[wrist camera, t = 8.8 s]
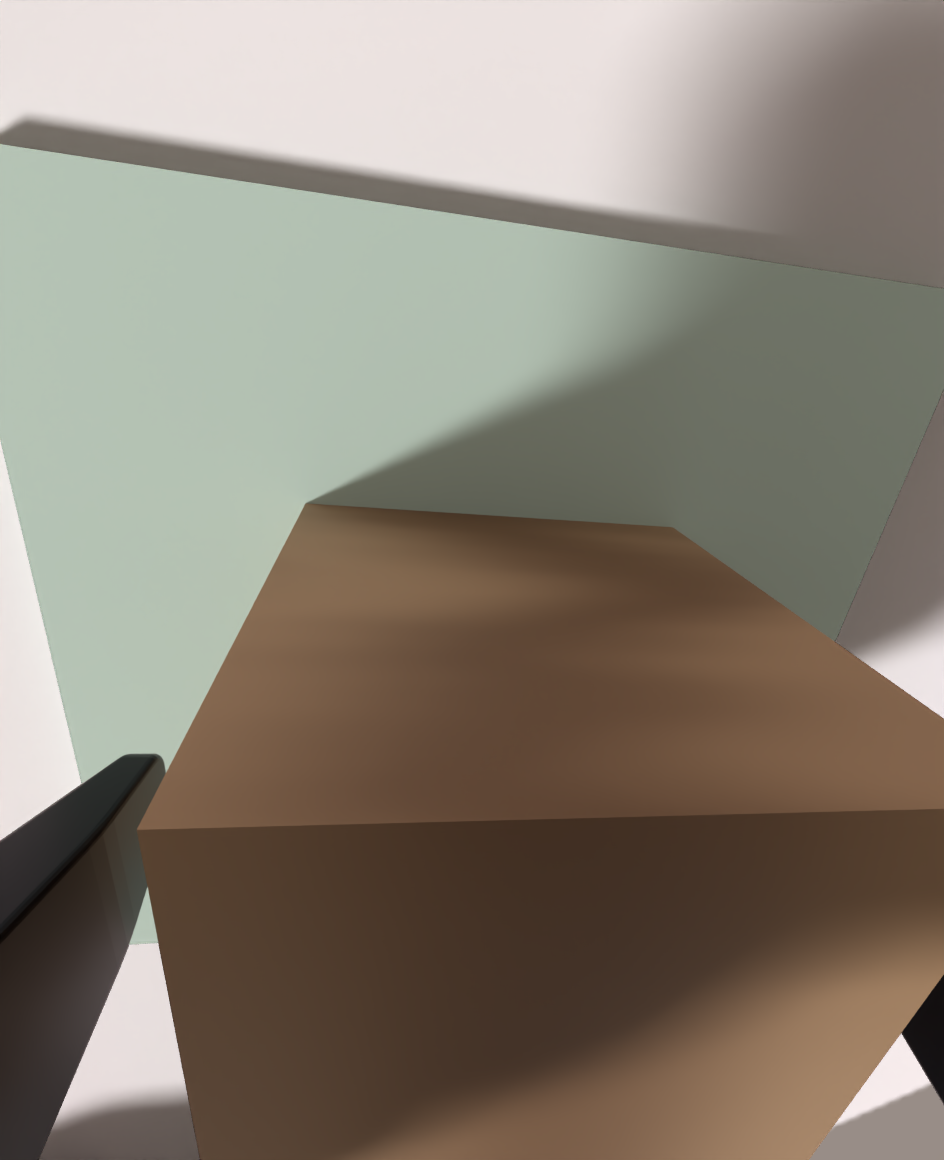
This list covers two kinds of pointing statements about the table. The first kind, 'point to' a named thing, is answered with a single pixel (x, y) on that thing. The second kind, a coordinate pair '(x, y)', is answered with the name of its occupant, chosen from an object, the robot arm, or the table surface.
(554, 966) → the tan cube
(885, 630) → the table surface
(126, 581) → the sage mat
